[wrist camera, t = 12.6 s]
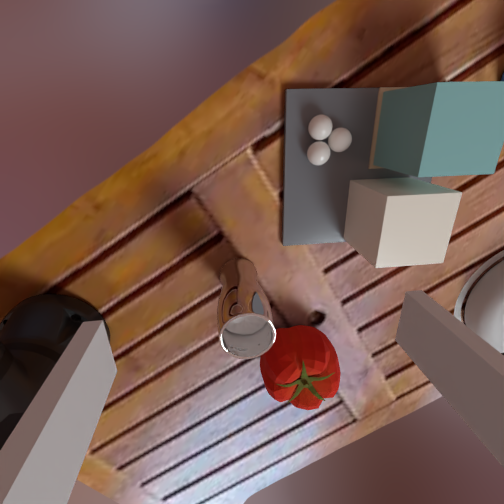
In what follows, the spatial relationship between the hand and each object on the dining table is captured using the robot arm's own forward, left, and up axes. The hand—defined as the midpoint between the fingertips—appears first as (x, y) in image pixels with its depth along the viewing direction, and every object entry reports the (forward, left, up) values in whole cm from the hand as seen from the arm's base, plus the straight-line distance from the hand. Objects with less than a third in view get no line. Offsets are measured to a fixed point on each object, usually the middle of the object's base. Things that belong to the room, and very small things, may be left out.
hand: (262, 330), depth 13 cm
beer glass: (+1, -14, -31) cm, 34 cm away
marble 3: (+14, +6, -30) cm, 34 cm away
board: (+19, +1, -31) cm, 36 cm away
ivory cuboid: (+22, -4, -30) cm, 37 cm away
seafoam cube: (+25, +7, -30) cm, 39 cm away
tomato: (+10, -29, -31) cm, 44 cm away
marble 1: (+12, +7, -30) cm, 33 cm away
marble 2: (+12, +4, -30) cm, 33 cm away
